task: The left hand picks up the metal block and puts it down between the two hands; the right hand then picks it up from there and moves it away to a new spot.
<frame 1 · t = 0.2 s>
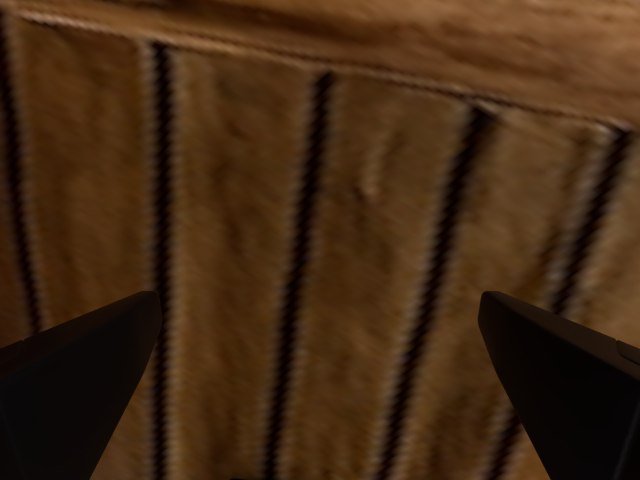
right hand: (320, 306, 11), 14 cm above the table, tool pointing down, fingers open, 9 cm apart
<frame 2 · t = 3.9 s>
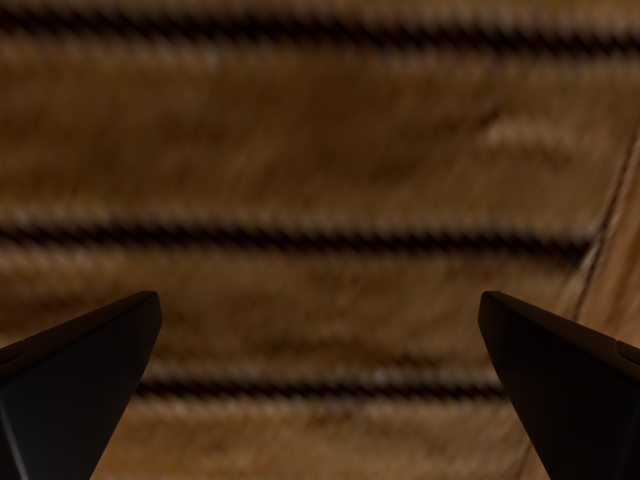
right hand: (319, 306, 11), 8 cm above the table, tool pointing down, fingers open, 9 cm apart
when the left hand's fingers open (2 cm above the table, at t = 10.0 s): block stays where it is, on the table.
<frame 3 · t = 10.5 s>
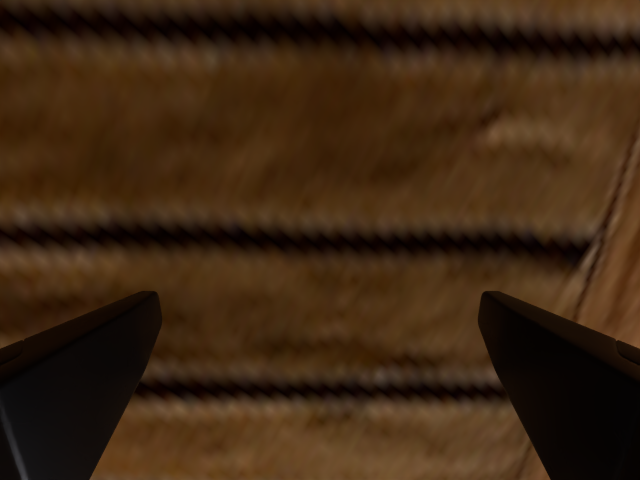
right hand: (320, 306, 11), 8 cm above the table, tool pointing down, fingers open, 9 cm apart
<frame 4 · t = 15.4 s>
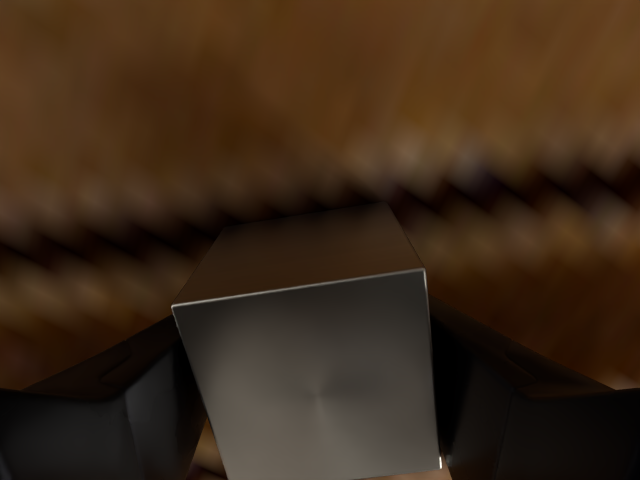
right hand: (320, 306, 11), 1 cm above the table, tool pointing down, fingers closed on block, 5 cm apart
block: (318, 289, 12), on the table, touching right hand
when the right hand's fingers open (2 cm above the table, at t = 20.4 s): block stays where it is, on the table.
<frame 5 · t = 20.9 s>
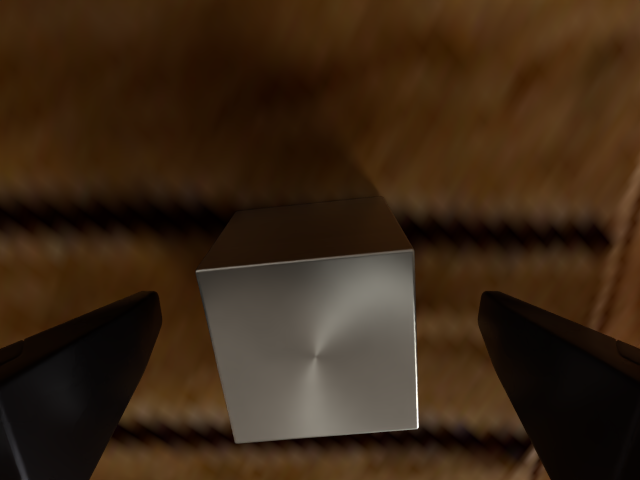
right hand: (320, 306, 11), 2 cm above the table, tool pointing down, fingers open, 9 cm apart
block: (317, 273, 14), on the table
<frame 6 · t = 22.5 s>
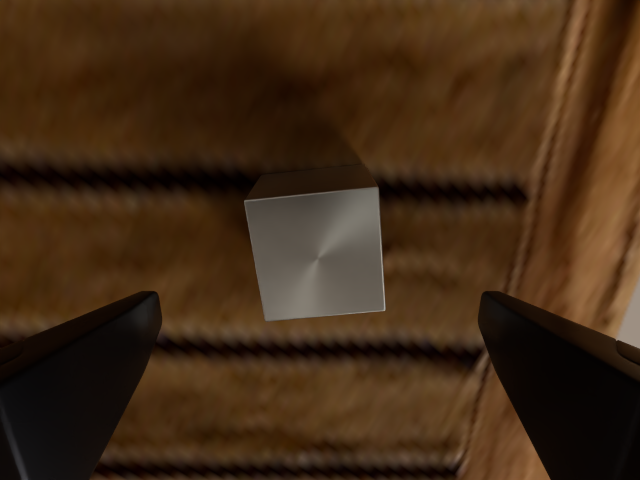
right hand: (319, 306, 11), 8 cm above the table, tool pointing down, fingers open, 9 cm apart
block: (318, 220, 19), on the table
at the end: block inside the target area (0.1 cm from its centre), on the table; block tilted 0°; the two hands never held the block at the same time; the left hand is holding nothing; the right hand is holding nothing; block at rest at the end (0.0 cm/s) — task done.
